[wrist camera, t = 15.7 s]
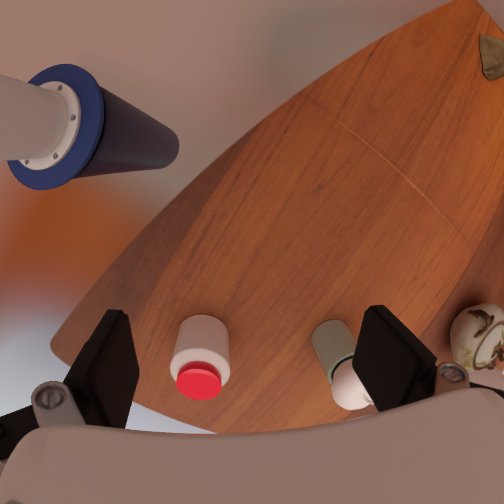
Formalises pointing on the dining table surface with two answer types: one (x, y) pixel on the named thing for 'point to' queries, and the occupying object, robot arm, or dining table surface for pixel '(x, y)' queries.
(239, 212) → the dining table surface
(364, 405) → the apple
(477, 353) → the sugar bowl
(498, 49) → the rock
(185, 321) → the pill bottle
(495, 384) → the tall pillar cylinder
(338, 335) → the cup
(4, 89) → the robot arm
